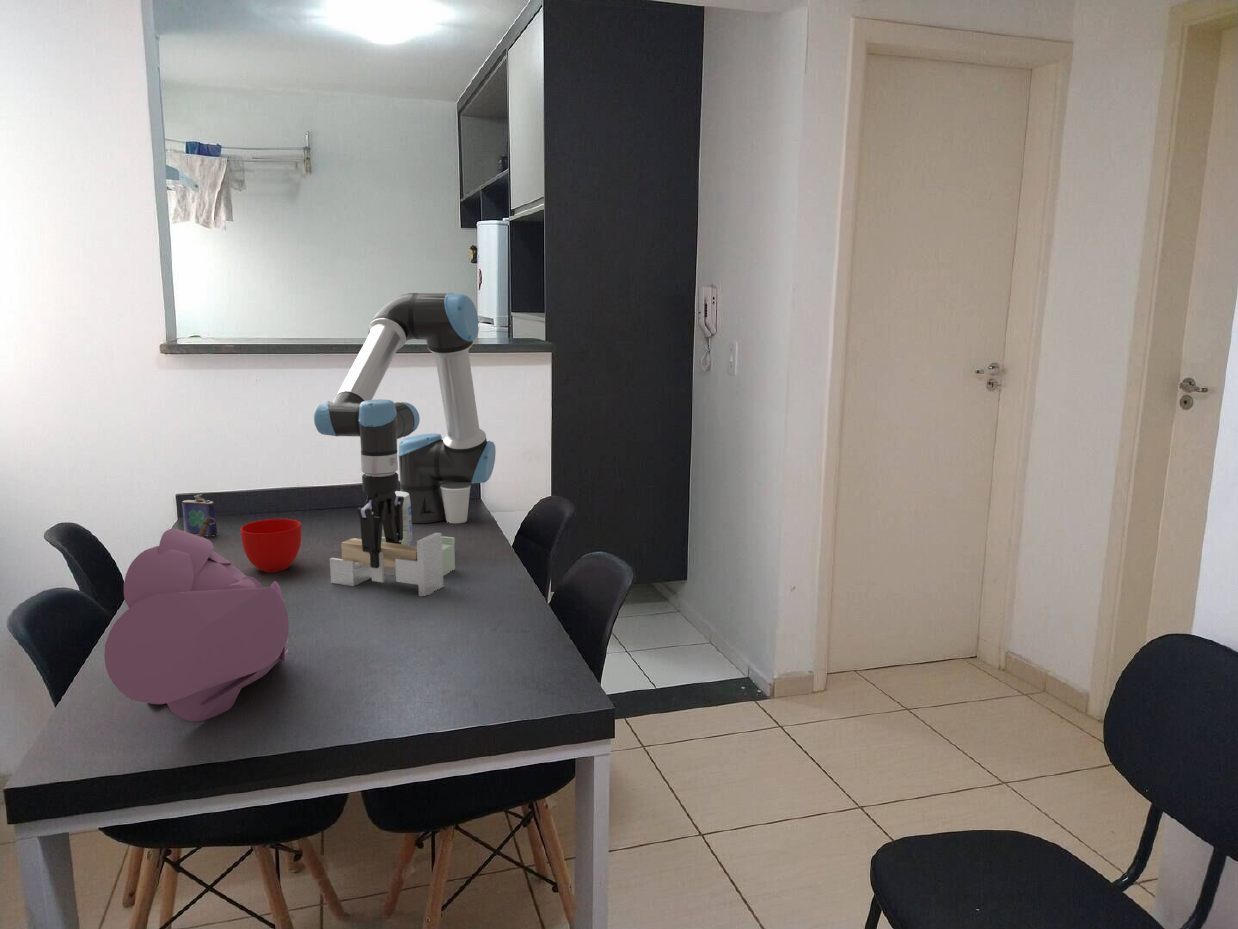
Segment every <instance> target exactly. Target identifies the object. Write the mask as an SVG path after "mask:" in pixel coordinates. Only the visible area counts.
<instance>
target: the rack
mask: <svg viewBox="0 0 1238 929" xmlns="http://www.w3.org/2000/svg"><path fill="white" fill-rule="evenodd" d="M397 535H398V534H397ZM406 538H407V532H404V531H403V540H402V541H399V542H401V544H403V545H406ZM381 542H386V540H385V537H382V539H381ZM455 545H456V538H455V537H453V536H443V535H442V558H443V577H444V576H447V574H449V573H451V572H453V571H455V570H456V562H455V561H456V557H455V553H456V552H455ZM384 570H385V566H384ZM452 570H453V571H452ZM450 571H451V572H450Z"/></svg>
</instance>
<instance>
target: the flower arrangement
mask: <svg viewBox="0 0 1238 929" xmlns="http://www.w3.org/2000/svg"><path fill="white" fill-rule="evenodd" d="M214 547H215V546H214V544H213V542H212V541H211V540H210V539H208V538H205V537H204V538H203V537H200V536H197V535H194V534H191V533H188V532H184V530H181V529H177V528H168V529H166V530H165V531H164V532H163V533H162V535H161V537H160V541H159V544H158V545H157V546H153V547H150V548H148V549H145V550H143V551H142V552H140V553H139V554H138V555H137V556H136V557H135V558H134V559H133V560H132V561H131V562H130V565H129V566H128V568H127V571H126V573H125V577H124V582H123V597H124V603H125V604H126V606H127V607H128V609H127V610H126V611H124V612H123V614H121V615H120V617H119V618H117V620H116V621H115V622H114V623H113V625H112V627H111V628H110V631H109V633H108V635H107V638H106V641H105V644H104V664H105V670H106V672H107V674H108V677H109V679H110V680H111V682H112V683H113V685H114V686H115V687H116V689H117V690H118V691H120V692H121V694H123V695H124V696H125V697H127V698H129V699H130V700H132V701H137V702H141V703H146V704H151V705H163V704H167V707H168V709H169V710H170V711H171V713H173V714H174V715H175V716H177V717H179V718H180V719H182V720H185V721H189V722H201V721H205V720H209V719H212V718H214V717H217V716H218V715H221V714H223V713H225V712H227V711H228V710H230V709H231V708H232V707H233V706H234V704H235V702H236V700H237V698H238V696H239V695H240V694H239V693H240V692H241V690H242V688H244V687H247V686H249V685H250V684H252V683H254V682H256V681H257V680H259V679H261V678H263V677H264V676H265V675H267V673H269V671H271V670H272V669H273V667H275V665H277V664H278V662H279V661H280V662H284V663H285V661H286V660H285V659H286V654H287V653H288V652H289V649H288V647H286V644H287V643H288V642H289V637H288V636H289V625H290V624H289V615H288V612H287V608H286V606H285V604H284V601H283V596H282V590H281V587H280V585H279V583H278V582H277V581H272V583H271V585H270V587H264V586H263V585H262V583H260V581H259V580H258V579H257V578H255V577H253V576H247V575H246V574H245V573H243V571H241V570H240V569H239V568H238V567H236V566H234V565H232V562H231V561H229V560H228V559H226V558H225V557H223V556H222V555H220V554H218V553H217V552H216V551H214Z"/></svg>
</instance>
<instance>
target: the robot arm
mask: <svg viewBox="0 0 1238 929" xmlns="http://www.w3.org/2000/svg"><path fill="white" fill-rule="evenodd" d="M479 328H480V327H479V317H478V311H477V308H476V306H475V304H474V301H473V300H472V298H470V297H469V296H468V295H466V294H464V293H454V292H445V293H443V292H442V293H441V292H439V293H437V292H434V293H431V292H430V293H429V292H428V293H427V292H426V293H424V292H421V293H419V292H409V293H405V294H402V295H401V294H400V295H399V296H397V297H395V298H393V299H392V300H390V301H389V302H387V303H386V304H385V305H383V306H382V307H381V308H380V309H379V310H378V311H377V312H376V313H375V315H374V316H373V318H372V319H371V320H370V323H369V325H368V326H367V333H368V335H367V338H366V340H365V341H364V342H363V345H362V347H361V348H360V351H359V352H358V355H357V356H356V358H355V360H354V361H353V363H352V366H351V368H349V372H348V373H347V375H346V377H345V379H344V380H343V382H342V384H341V386H340V388H339V390H338V392H337V394H336V395H335V397H334V399H333V400H332V401H330V400H327V401H323V402H320V403H318V404H317V405H316V407H315V409H314V414H313V422H314V425H315V428H316V430H317V432H318V433H319V434H321V435H324V436H332V437H357V438H358V437H359V438H360V465H361V467H360V468H361V469H360V470H361V472H362V473H363V474H362V475H361V486H362V492H364V493H365V494H366V500H365V505H364V506H363V507H358V509H357V514H358V516H359V520H360V521H359V524H360V531H361V532H360V533H361V534H360V537H361V539H362V550H363V552H369V553H370V566H371V572H372V578H371V582H377V583H384V582H385V575H386V576H393V577H396V568H394V567H386V566H385V569H384V559H383V552H380V551H381V539H382V526H383V528H384V534H385V540H386V542H387V543H395V544H401V542H399V541H402V540H403V502H404V497H403V496H396V493H395V491H402V492H407V493H409V496H410V503H411V522H412V524H425V523H427V524H428V523H436V522H440V521H445V520H446V516H445V510H444V503H443V497H442V491H441V488H440V486H441V485H443V482H445V483H447V482H448V483H467V484H470V483H471V485H473V484H484V483H486V482H488V481H489V480H490V479H491V476H492V475H493V471H494V468H495V462H496V454H497V453H496V452H497V451H496V450H497V449H496V445H495V442H494V441H491V440H488V439H487V434H486V432H485V430H483V429H481V427H480V424H479V416H478V411H477V410H478V409H477V402H476V395H475V389H474V382H473V374H472V368H471V361H470V359H471V358H470V354H469V350H470V349H471V347H472V346H473V344H474V340H476V339H477V338H478V334H479ZM411 340H424V341H426V346H427V350H428V351H429V352H431V353H432V354H434V357H435V358H434V359H435V363H436V371H437V376H438V381H439V382H438V383H439V388H440V394H441V400H442V406H443V412H444V418H445V424H446V431H447V433H446V434H445V435H444V437H442V434H441V433H435V432H434V433H425V434H418V435H417V434H416V435H413V436H410V435H411V434H412V433H414V432H415V431H416V430H417V429H418V427H419V426H420V425H419V424H420V421H421V420H420V419H421V418H420V414H419V411H418V410H417V408H416V407H415V406H414V405H413V404H411V403H409V402H406V401H402V402H401V401H400V402H394V401H393V400H391V399H378V398H377V399H374V396H376V393H377V390H378V388H379V387H380V385H381V383H382V380H383V379H384V378H385V374H386V372H387V371H388V368H389V367H390V365H391V362H392V361H393V359H394V357H395V355H396V353H397V351H398V350H400V349H401V348H403V347H404V345H405V344H406V342H407V341H411ZM401 438H403V439H402V440H400V442H399V445H398V439H401ZM487 440H488V441H487ZM398 470H399V474H398V472H397V471H398ZM399 489H400V490H399ZM374 516H375V517H374ZM379 517H380V518H379ZM397 534H398V535H397ZM375 547H376V548H375Z"/></svg>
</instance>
